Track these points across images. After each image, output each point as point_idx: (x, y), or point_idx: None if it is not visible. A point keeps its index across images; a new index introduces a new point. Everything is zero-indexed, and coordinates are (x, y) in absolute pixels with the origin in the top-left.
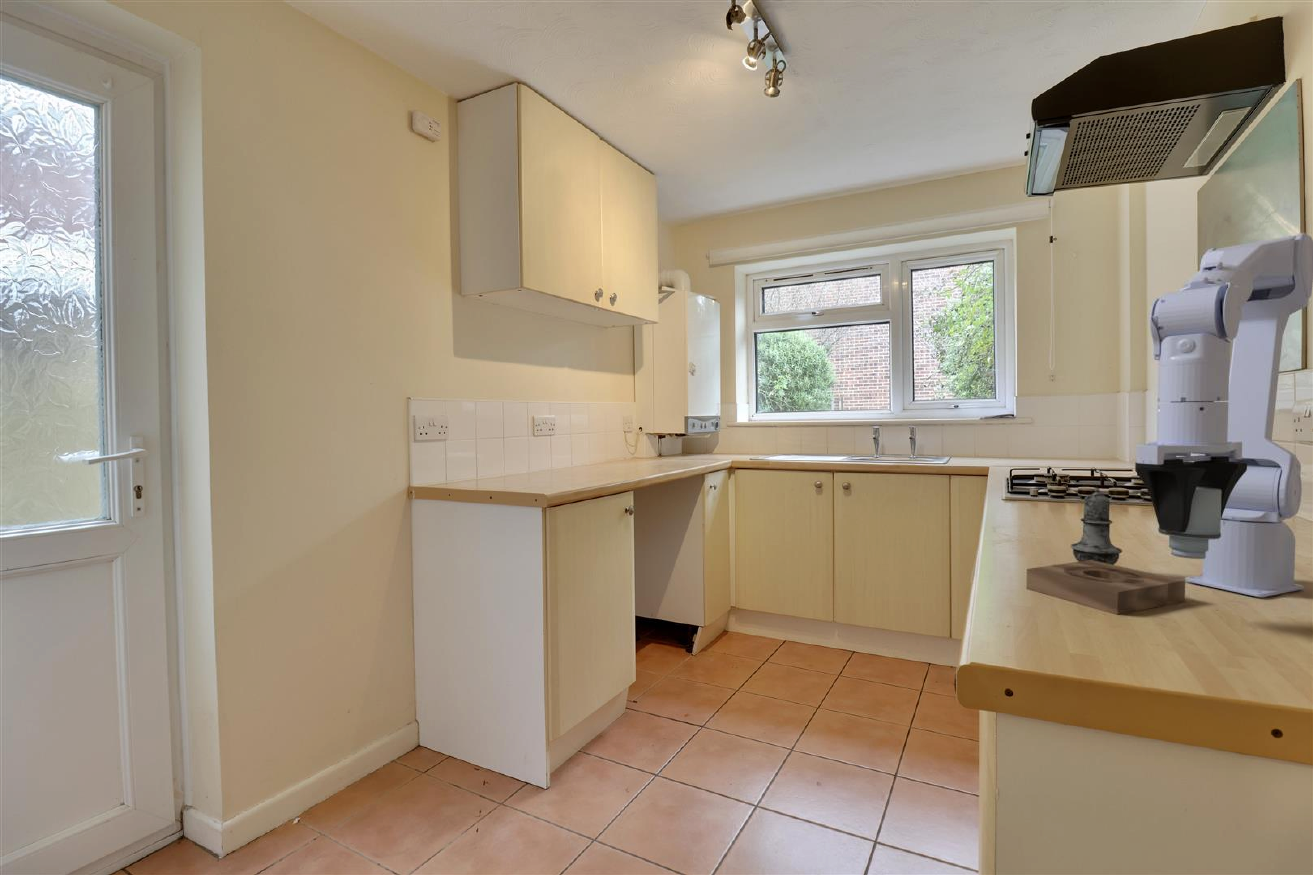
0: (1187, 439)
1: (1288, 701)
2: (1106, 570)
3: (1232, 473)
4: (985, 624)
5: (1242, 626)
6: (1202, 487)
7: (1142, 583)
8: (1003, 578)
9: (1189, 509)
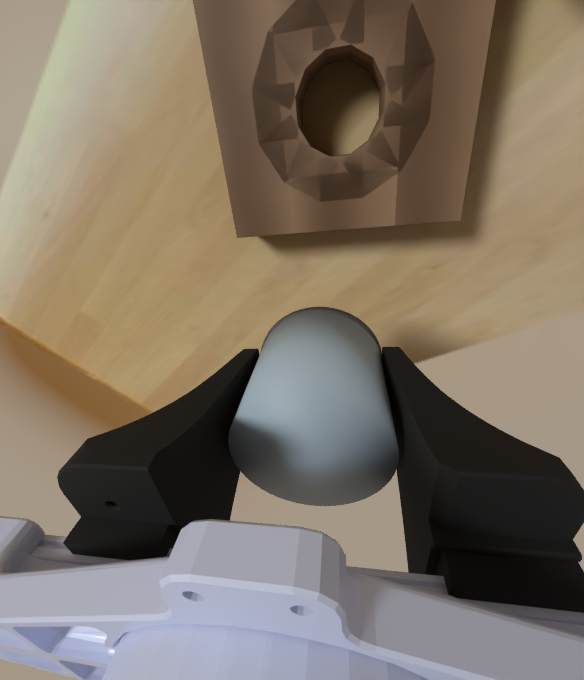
0: None
1: None
2: (393, 66)
3: (408, 569)
4: (15, 196)
5: (371, 326)
6: (382, 460)
7: (344, 206)
8: None
9: None
